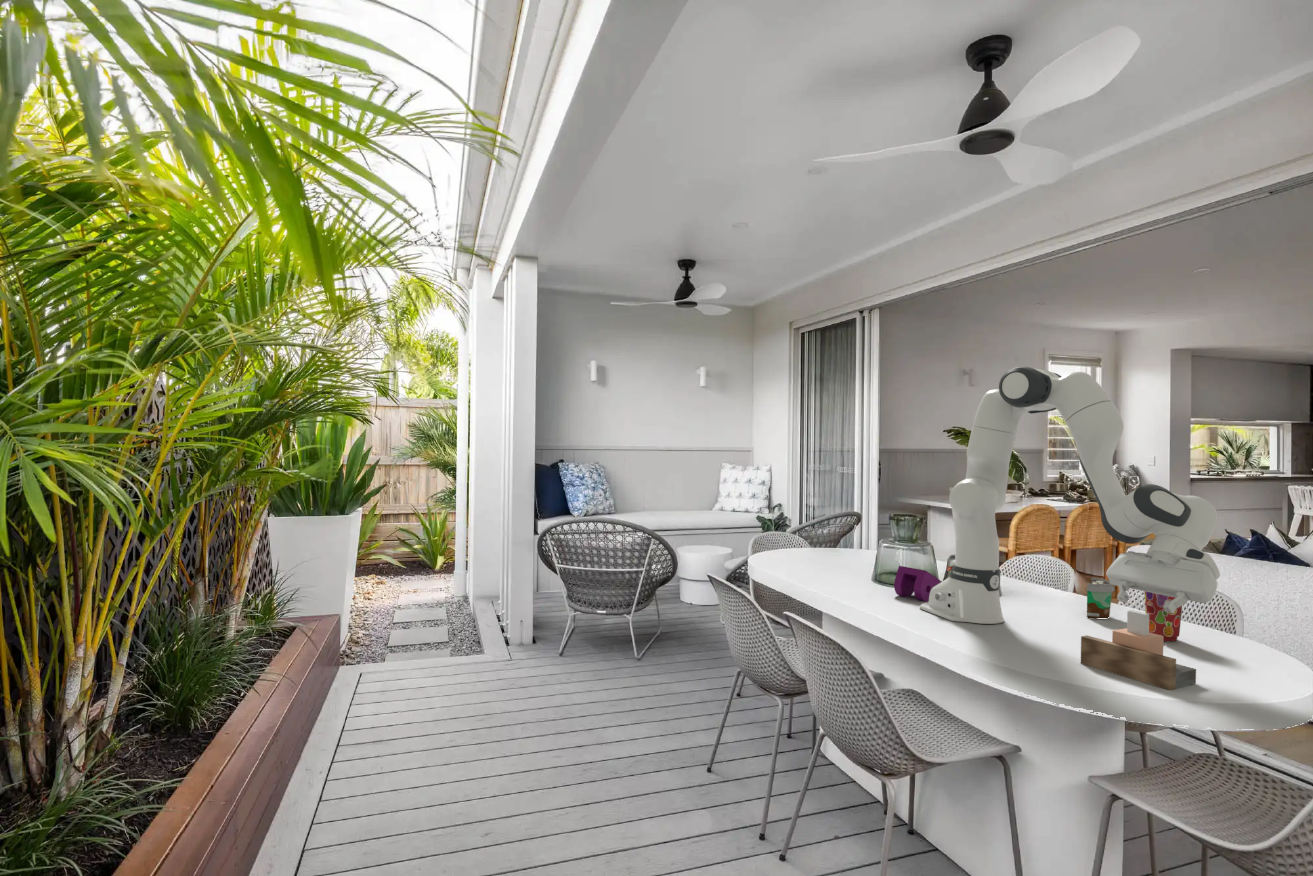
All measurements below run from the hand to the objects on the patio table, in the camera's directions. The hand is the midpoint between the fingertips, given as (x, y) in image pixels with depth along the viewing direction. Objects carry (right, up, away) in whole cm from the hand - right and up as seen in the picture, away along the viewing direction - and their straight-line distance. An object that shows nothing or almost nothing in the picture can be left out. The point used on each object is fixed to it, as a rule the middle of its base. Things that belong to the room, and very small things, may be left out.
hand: (1144, 605), depth 151 cm
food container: (+21, -15, +48) cm, 54 cm away
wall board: (-3, -14, -1) cm, 15 cm away
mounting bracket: (-21, -14, +69) cm, 74 cm away
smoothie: (+23, -15, +26) cm, 38 cm away
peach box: (-2, -11, -1) cm, 11 cm away
